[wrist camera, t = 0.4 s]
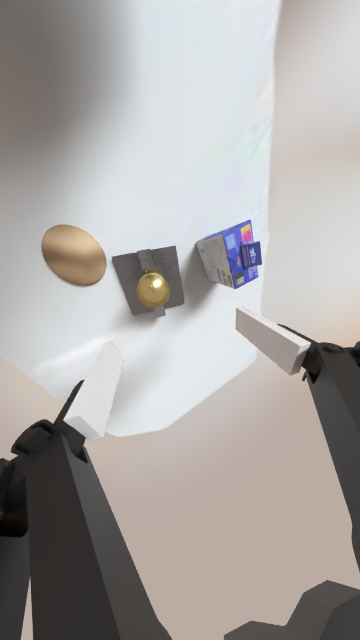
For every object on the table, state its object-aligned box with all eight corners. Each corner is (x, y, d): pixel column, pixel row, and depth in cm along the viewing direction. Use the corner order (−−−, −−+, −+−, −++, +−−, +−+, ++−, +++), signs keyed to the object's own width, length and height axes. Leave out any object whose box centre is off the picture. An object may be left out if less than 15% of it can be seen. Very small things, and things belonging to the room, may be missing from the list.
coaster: (29, 230, 23) (26, 229, 23) (91, 221, 25) (90, 220, 24) (64, 288, 29) (62, 289, 28) (114, 279, 30) (113, 279, 29)
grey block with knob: (113, 256, 28) (104, 256, 23) (174, 246, 29) (179, 243, 24) (133, 313, 34) (131, 323, 29) (183, 302, 36) (188, 309, 31)
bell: (132, 263, 27) (127, 266, 20) (160, 258, 27) (163, 259, 21) (146, 307, 31) (145, 319, 25) (169, 302, 32) (174, 312, 26)
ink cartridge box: (226, 271, 35) (270, 279, 22) (208, 280, 35) (241, 294, 22) (216, 231, 30) (264, 212, 17) (195, 242, 30) (227, 232, 17)
